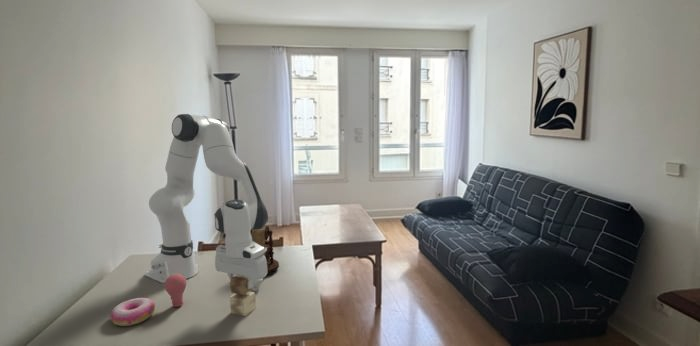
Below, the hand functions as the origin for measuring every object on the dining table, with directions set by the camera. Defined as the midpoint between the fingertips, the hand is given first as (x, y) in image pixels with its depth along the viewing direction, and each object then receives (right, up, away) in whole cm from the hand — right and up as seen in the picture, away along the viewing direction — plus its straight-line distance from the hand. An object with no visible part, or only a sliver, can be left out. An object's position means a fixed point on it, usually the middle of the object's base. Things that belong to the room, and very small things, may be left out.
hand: (241, 286), depth 139 cm
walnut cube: (0, -2, 0) cm, 2 cm away
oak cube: (0, -9, +1) cm, 9 cm away
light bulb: (-24, -9, +5) cm, 27 cm away
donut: (-36, -11, -2) cm, 38 cm away
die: (-1, -6, +17) cm, 18 cm away
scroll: (-1, -3, +36) cm, 36 cm away
